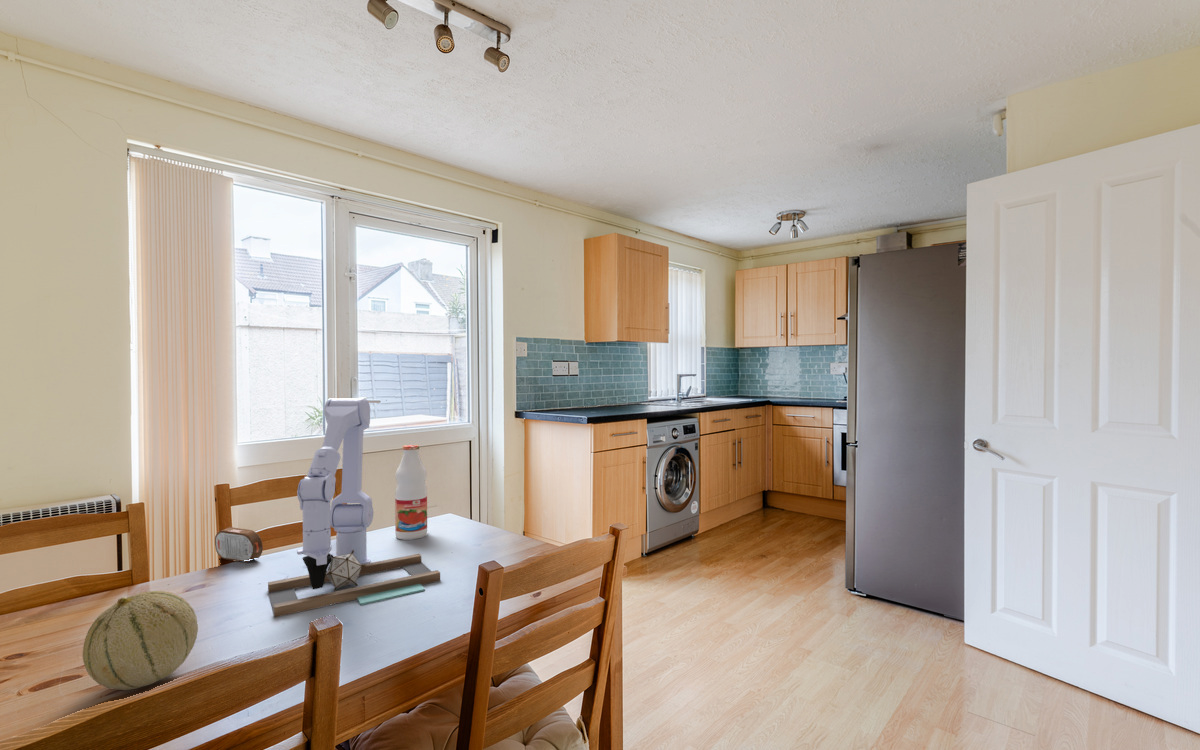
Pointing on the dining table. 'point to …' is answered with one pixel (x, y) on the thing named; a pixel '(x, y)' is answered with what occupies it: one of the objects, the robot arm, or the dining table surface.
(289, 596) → the mats
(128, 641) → the cantaloupe
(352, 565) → the game die
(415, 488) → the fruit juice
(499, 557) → the dining table surface
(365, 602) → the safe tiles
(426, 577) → the lane rails
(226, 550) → the tin
